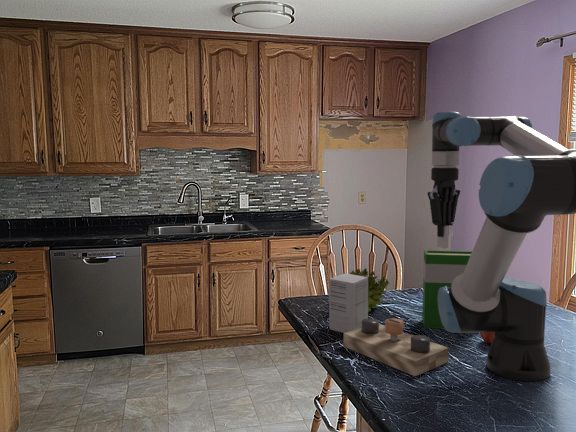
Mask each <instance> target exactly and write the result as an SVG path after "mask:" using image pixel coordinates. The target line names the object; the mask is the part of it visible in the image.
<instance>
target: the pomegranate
mask: <svg viewBox="0 0 576 432" xmlns="http://www.w3.org/2000/svg"><path fill="white" fill-rule="evenodd" d="M479 336H480V337H481V339H482V340H483V342H484V343H486V344H491V345H492V343H493V340H494V338H495V332H479Z"/></svg>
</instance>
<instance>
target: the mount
mask: <svg viewBox="0 0 576 432" xmlns="http://www.w3.org/2000/svg"><path fill="white" fill-rule="evenodd" d="M412 336H414V335H412V334H409V333H406V332H404V331H403V333H402V334H400V335H398V342H396V343H393V342H390V334H388V333H386V332H385V325H384V324H381V323H379V332H378V333H377V334H366V333H363V332H362V328H359V329H356V330H352V331H349V332H346V333H343V347H345V348H346V349H349V350H352V351H353V352H355V353H359V354H361V355H363V356H366V357H367V358H371V359H372V360H375V361H377V362H380V363H382V364H385V365H387V366H390V367H392V368H395V369H397V370H399V371H401V372H403V373H406V374H409V375H411V376H413V377H417V376H419V375H421V374H424V373H426V372H428V371H431V370H433V369H435V368H438V367H440V366H442V365H445V364H447V363H449V352H450V350H449V347H447V346H444V345H442V344H439V343H436V342H433V341H430V351H429V352H427V353H417V352H414V351H412V350H411V337H412Z"/></svg>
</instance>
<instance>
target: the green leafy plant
mask: <svg viewBox="0 0 576 432" xmlns="http://www.w3.org/2000/svg"><path fill="white" fill-rule="evenodd" d="M348 274H352V275H358V276H364V277H368V313H369V312H371V311H372V309H376V308H378V305H379V304H381V303H382V301H381V300H382V299H383V298H384V296H383V294H385V289H387V286H388V285H389V284H390V282H389V281H388V279H387V278H386V277H385V275H383V276H382V279H379V278H378V275H376V273H375V271H374V270H372V271H370V273H369V271H368V269H367V267H366V268H364V269H363V270H362V271H361V268H358V269H356V270H354V269H353V270H352V271H351V272H349V273H348ZM385 278H386V279H385ZM375 279H377V281H376V280H375Z"/></svg>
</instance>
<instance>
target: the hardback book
mask: <svg viewBox="0 0 576 432" xmlns="http://www.w3.org/2000/svg"><path fill="white" fill-rule="evenodd" d="M472 251H473V250H470V251H469V250H440V249H439V250H437V249H436V250H433V249H432V250H431V249H425V250H423V272H422V273H423V275H422V276H423V277H422V279H423V281H422V320H421V321H422V324H423V327H424V328H426V329H427V328H428V329H445V328H444V327H443V324H442V322H441V318H440V314H439V309H438V291H439V289H440V288H441V287H445V286H447V287H451V284H452V282H453V280H454V279H455V278H456V277H457V276H459V275H460V274H463V272H464V270H465V268H466V265H467V263H468V260H469V258H470V256H471V253H472ZM445 330H446V329H445Z"/></svg>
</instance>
